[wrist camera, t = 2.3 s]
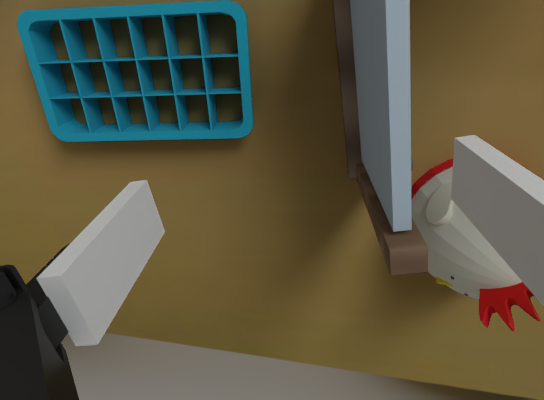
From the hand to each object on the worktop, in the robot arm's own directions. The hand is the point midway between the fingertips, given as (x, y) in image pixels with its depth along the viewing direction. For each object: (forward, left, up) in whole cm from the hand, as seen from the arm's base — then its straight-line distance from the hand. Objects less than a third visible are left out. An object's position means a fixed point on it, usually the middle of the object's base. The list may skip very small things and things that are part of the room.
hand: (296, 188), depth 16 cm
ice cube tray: (+4, +14, -22) cm, 27 cm away
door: (0, -7, -21) cm, 22 cm away
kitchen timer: (-16, -16, -22) cm, 32 cm away
